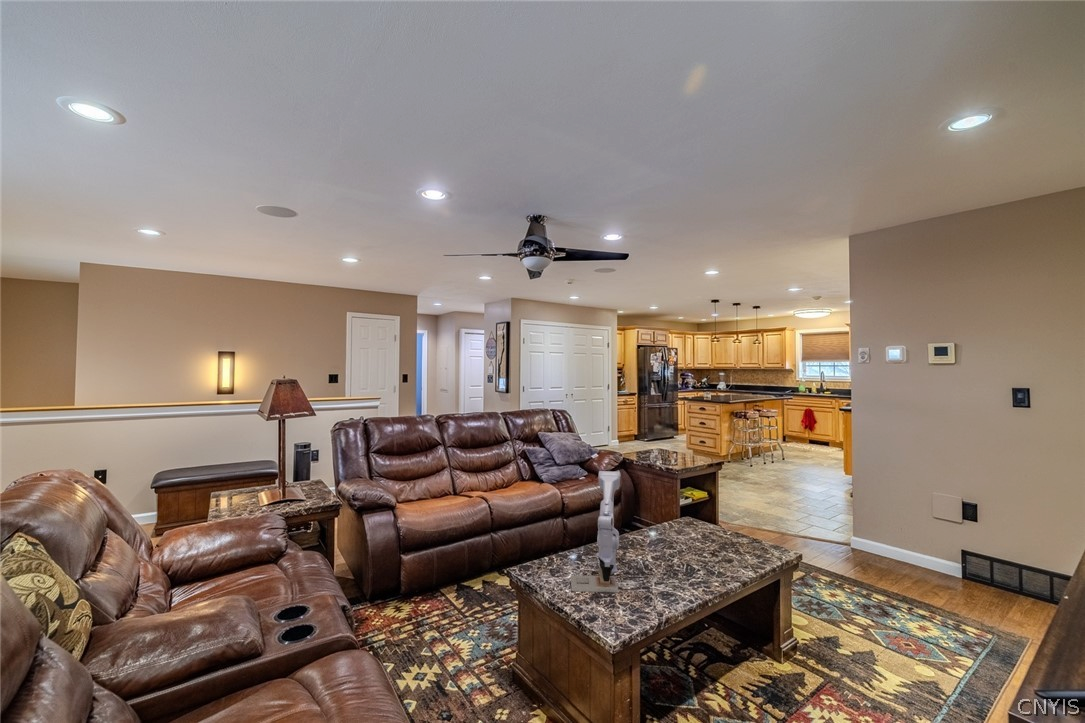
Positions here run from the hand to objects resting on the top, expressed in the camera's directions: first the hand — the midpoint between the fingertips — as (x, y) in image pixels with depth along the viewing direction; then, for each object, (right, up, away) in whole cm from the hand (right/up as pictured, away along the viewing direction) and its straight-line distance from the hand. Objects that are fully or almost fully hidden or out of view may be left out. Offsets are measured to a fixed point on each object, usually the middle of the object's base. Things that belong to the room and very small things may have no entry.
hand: (605, 576), depth 189 cm
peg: (0, -4, 0) cm, 4 cm away
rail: (-5, -4, 0) cm, 6 cm away
